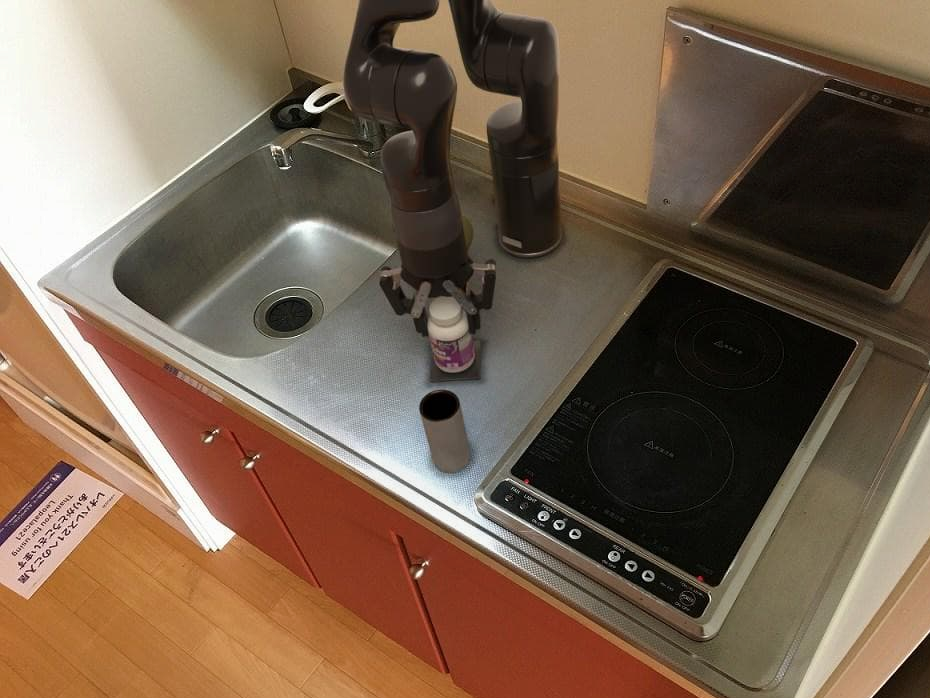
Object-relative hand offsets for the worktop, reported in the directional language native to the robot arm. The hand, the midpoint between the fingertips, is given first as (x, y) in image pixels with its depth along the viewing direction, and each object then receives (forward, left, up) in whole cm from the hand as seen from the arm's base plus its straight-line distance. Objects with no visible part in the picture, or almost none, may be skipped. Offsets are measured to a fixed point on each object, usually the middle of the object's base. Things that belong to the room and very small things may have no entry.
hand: (449, 330), depth 103 cm
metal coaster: (0, 0, -6) cm, 6 cm away
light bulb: (-16, +6, -6) cm, 18 cm away
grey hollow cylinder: (+14, -6, -6) cm, 16 cm away
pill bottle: (0, 0, -6) cm, 6 cm away
